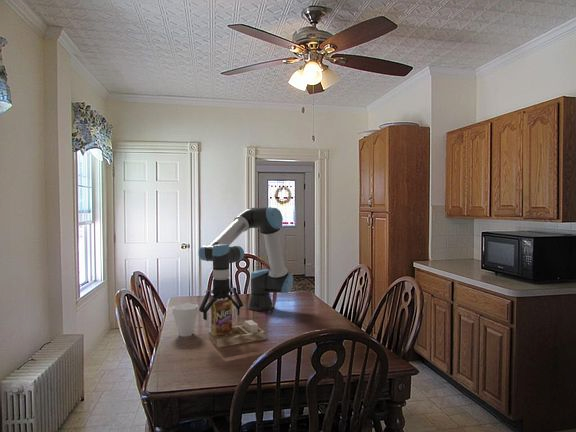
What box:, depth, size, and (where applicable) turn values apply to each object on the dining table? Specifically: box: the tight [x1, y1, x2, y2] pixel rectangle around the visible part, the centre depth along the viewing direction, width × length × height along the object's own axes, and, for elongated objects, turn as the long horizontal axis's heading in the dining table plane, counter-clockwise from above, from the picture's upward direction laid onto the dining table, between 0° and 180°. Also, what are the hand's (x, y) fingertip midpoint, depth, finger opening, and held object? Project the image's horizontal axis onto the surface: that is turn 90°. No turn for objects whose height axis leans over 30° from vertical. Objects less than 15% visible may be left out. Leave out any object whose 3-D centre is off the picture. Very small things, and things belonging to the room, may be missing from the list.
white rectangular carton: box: [243, 319, 259, 333], centre depth 184 cm, size 4×8×6 cm, turn 28°
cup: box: [172, 303, 200, 338], centre depth 190 cm, size 12×12×14 cm
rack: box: [207, 324, 267, 348], centre depth 181 cm, size 23×16×4 cm
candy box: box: [210, 298, 233, 336], centre depth 177 cm, size 9×4×15 cm, turn 123°
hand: (221, 324), depth 177 cm, fingers open, 13 cm apart
